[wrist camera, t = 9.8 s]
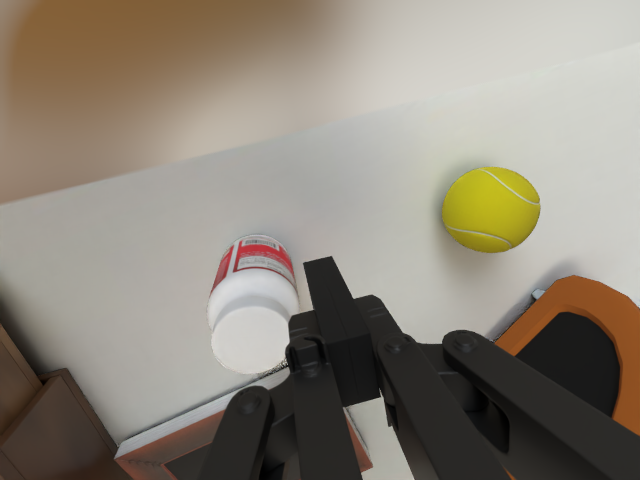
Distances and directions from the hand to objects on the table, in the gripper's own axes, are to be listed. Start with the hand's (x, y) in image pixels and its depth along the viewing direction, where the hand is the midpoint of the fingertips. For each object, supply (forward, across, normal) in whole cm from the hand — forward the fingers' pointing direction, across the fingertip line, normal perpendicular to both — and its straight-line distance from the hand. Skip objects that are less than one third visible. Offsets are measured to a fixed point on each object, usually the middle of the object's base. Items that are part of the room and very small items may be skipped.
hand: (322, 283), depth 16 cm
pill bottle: (+13, -5, -3) cm, 14 cm away
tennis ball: (+13, +15, -2) cm, 20 cm away
